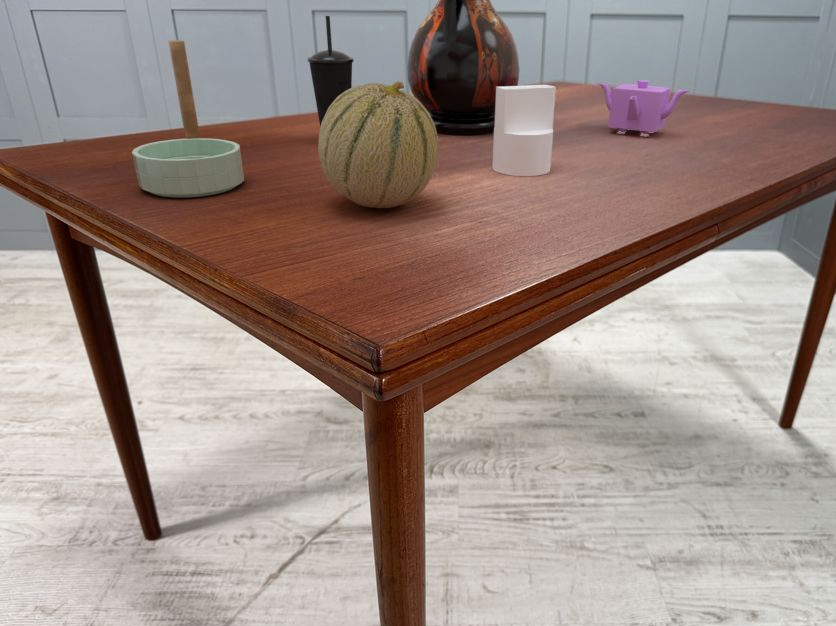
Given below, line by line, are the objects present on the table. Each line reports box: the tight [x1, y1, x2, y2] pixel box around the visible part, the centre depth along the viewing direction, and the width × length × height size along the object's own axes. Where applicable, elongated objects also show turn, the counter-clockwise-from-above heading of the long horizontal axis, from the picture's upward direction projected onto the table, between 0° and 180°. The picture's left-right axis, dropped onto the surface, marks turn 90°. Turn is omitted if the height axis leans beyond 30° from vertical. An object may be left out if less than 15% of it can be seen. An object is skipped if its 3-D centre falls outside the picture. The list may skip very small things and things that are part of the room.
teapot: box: [596, 79, 690, 134], centre depth 129 cm, size 18×13×10 cm
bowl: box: [131, 137, 245, 198], centre depth 90 cm, size 13×13×5 cm
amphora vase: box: [406, 0, 521, 135], centre depth 126 cm, size 22×22×28 cm
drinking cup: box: [306, 15, 355, 127], centre depth 114 cm, size 8×8×20 cm
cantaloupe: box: [317, 80, 439, 209], centre depth 82 cm, size 15×15×15 cm
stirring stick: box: [167, 39, 201, 139], centre depth 111 cm, size 2×2×16 cm
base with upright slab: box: [492, 84, 557, 177], centre depth 101 cm, size 9×9×12 cm
